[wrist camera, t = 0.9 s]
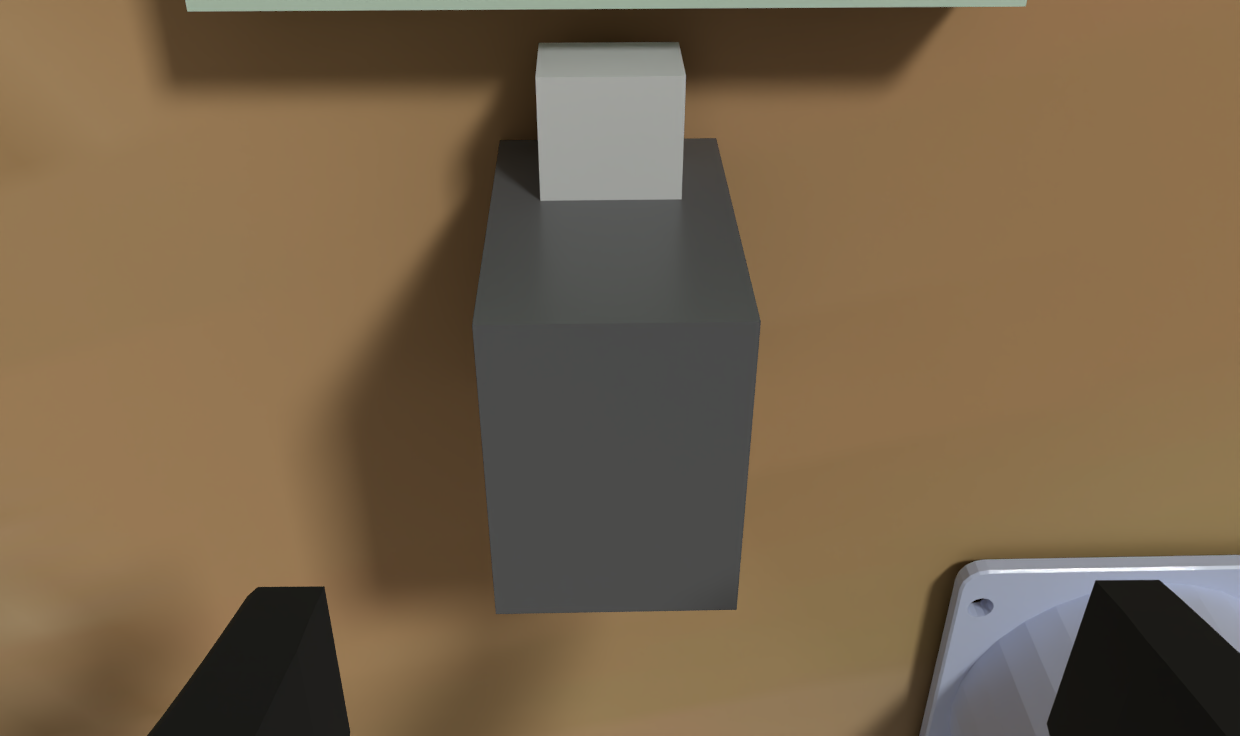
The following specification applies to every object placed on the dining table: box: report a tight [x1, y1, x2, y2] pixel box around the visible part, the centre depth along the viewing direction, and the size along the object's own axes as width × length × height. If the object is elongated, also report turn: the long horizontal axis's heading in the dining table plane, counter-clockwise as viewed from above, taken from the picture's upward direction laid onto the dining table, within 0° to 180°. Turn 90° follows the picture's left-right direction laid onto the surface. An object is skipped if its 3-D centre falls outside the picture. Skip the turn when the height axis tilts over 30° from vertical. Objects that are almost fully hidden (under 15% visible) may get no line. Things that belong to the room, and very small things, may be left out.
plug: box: [472, 42, 761, 614], centre depth 17 cm, size 7×3×6 cm, turn 0°
